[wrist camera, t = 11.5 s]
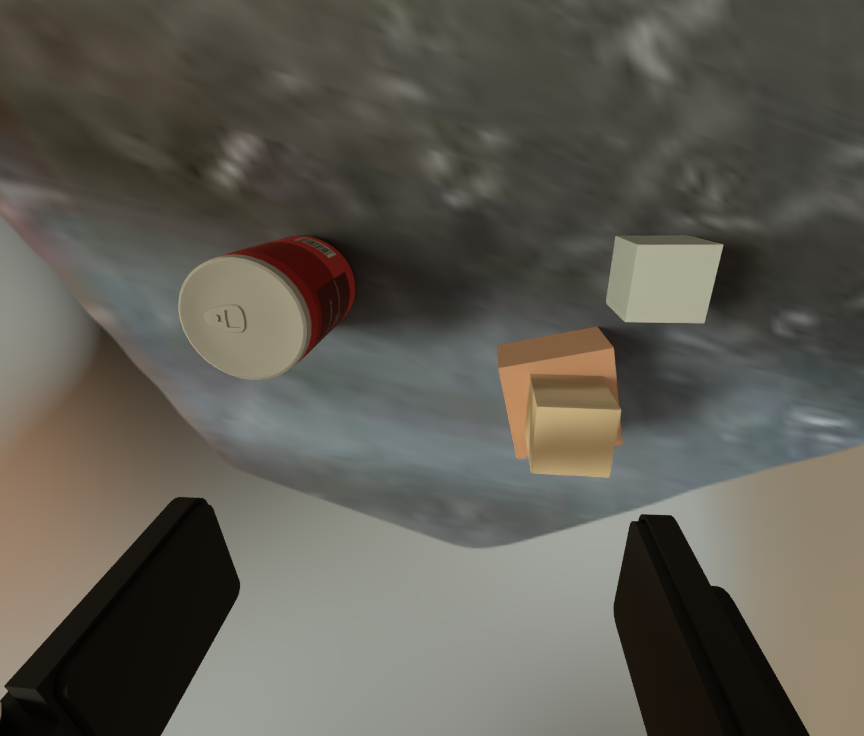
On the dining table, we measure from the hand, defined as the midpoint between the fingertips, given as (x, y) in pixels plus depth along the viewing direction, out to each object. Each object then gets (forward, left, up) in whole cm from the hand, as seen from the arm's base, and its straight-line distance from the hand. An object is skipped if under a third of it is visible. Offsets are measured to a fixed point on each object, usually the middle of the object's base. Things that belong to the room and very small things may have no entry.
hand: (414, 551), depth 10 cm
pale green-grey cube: (-1, +13, -27) cm, 30 cm away
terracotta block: (+8, +8, -27) cm, 29 cm away
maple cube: (+8, +7, -22) cm, 24 cm away
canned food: (0, -13, -27) cm, 30 cm away
